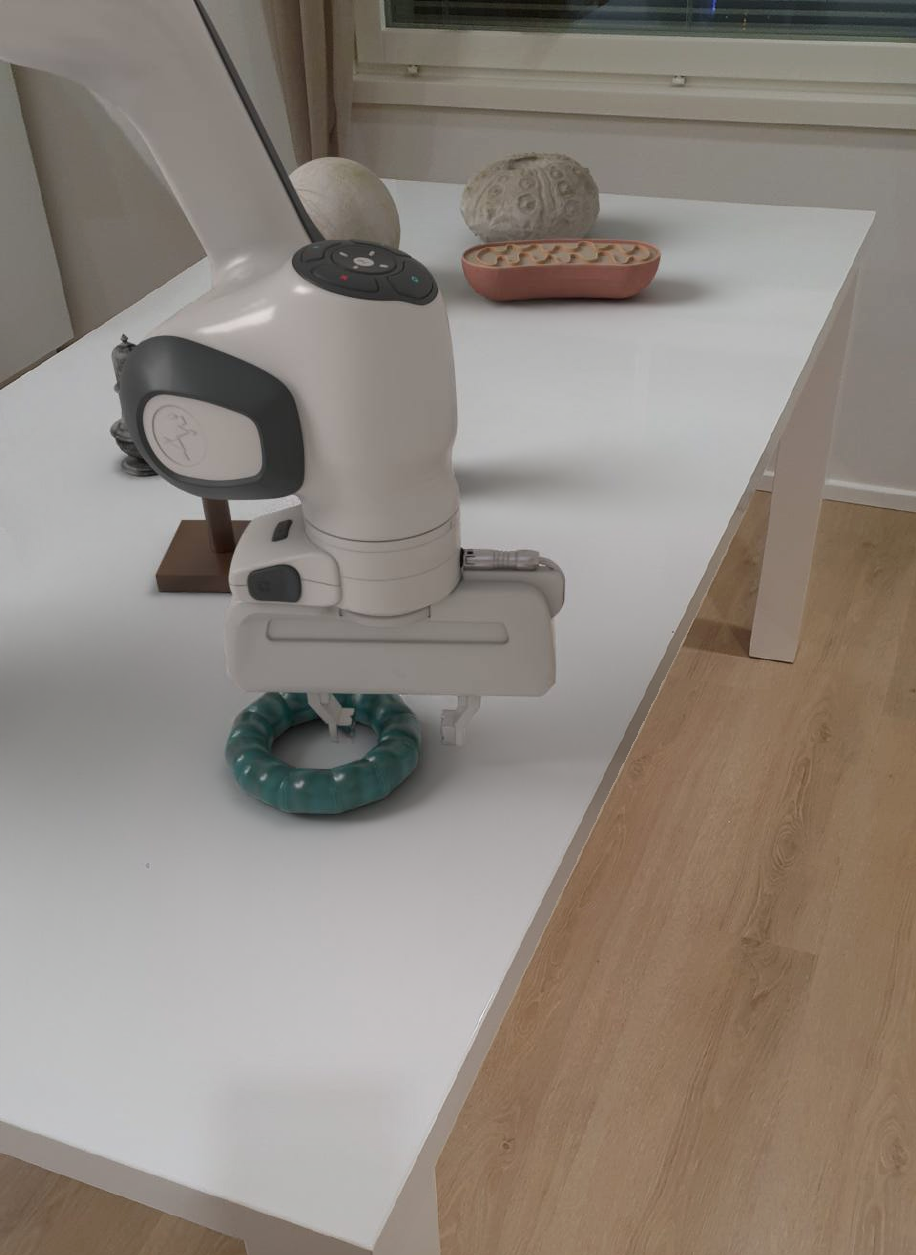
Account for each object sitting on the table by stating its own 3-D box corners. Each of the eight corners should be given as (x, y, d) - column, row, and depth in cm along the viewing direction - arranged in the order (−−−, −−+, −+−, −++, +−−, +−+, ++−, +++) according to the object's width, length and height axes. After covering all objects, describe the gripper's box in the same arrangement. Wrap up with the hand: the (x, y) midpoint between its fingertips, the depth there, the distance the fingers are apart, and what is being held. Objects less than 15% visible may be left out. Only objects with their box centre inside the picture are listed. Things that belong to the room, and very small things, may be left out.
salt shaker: (139, 483, 111) (111, 352, 103) (106, 463, 115) (76, 334, 107) (193, 463, 114) (170, 333, 106) (159, 443, 118) (134, 316, 110)
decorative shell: (458, 266, 154) (456, 179, 147) (463, 223, 167) (461, 141, 160) (601, 264, 153) (605, 176, 146) (594, 221, 166) (598, 139, 159)
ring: (212, 820, 77) (205, 786, 75) (250, 700, 86) (245, 667, 84) (412, 825, 76) (410, 790, 74) (429, 703, 85) (427, 670, 83)
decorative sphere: (388, 322, 140) (379, 179, 130) (262, 317, 142) (244, 176, 132) (415, 278, 151) (408, 143, 141) (298, 274, 153) (283, 141, 143)
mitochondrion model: (461, 313, 141) (460, 268, 138) (463, 284, 149) (462, 240, 145) (661, 309, 141) (664, 264, 137) (652, 280, 148) (655, 236, 145)
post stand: (158, 591, 97) (120, 416, 88) (184, 535, 104) (151, 366, 94) (270, 593, 97) (244, 416, 87) (289, 536, 103) (267, 366, 94)
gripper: (566, 524, 72) (559, 712, 81) (223, 521, 73) (255, 707, 83) (566, 580, 67) (559, 773, 77) (200, 576, 69) (236, 766, 78)
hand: (398, 739), depth 80 cm, fingers open, 6 cm apart
